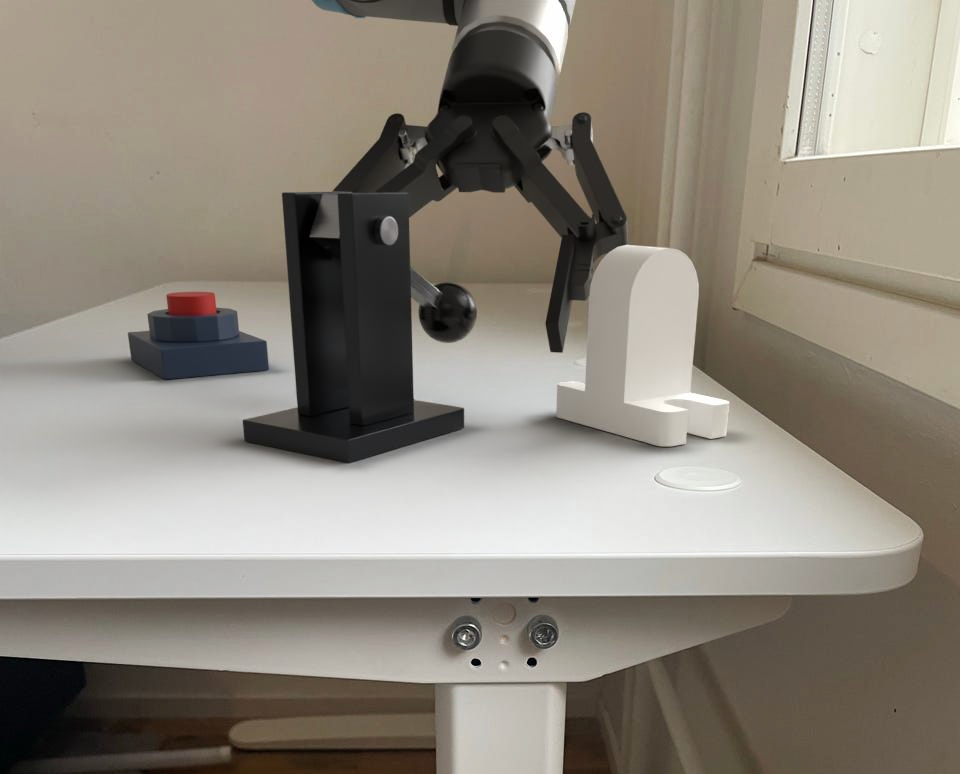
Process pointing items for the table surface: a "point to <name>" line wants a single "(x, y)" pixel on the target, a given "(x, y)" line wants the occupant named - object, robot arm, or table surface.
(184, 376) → the switch box
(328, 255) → the bracket
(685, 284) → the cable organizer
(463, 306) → the lever
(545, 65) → the robot arm
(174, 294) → the stop button
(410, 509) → the table surface
